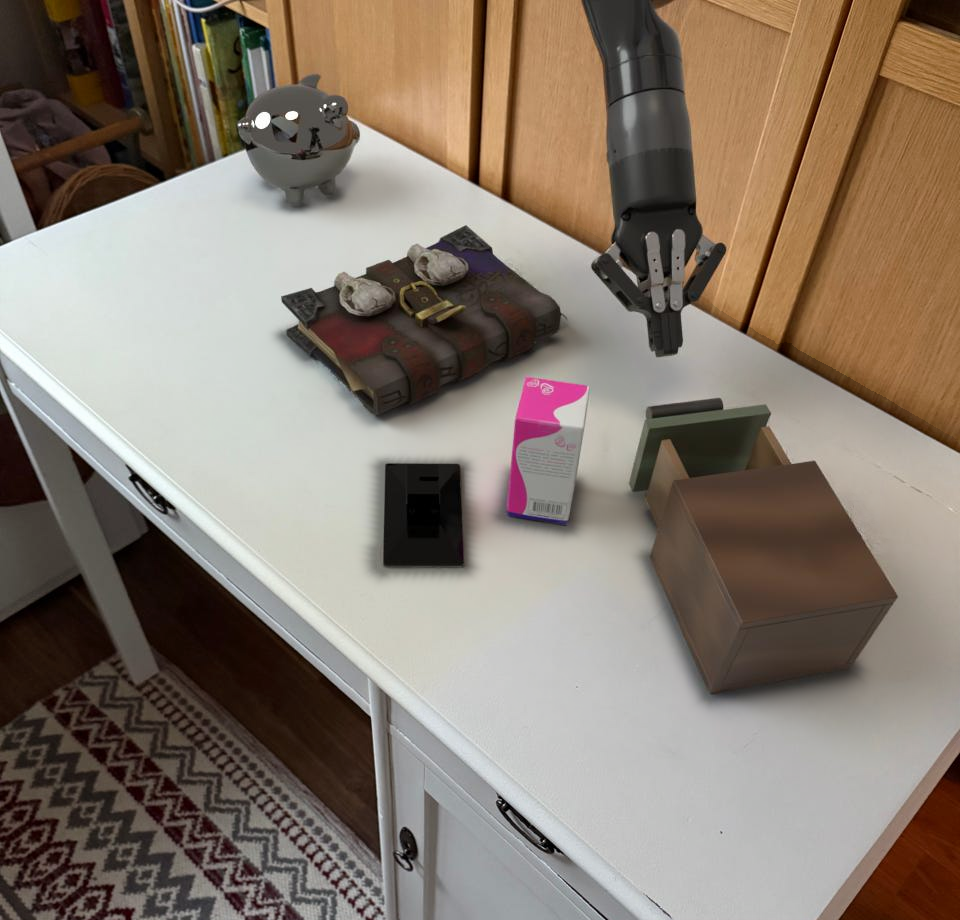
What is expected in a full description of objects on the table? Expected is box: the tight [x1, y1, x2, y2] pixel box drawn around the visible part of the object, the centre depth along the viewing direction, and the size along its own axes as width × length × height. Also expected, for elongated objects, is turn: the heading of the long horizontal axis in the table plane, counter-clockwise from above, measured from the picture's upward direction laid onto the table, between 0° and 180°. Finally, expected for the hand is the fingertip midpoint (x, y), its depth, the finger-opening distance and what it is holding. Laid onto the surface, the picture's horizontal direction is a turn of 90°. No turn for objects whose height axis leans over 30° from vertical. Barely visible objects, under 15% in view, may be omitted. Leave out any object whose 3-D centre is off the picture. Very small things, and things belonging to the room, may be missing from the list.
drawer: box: [628, 397, 792, 528], centre depth 83 cm, size 18×11×8 cm, turn 13°
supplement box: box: [506, 376, 591, 526], centre depth 82 cm, size 6×6×12 cm
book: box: [280, 224, 568, 416], centre depth 97 cm, size 26×18×7 cm
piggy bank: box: [235, 73, 361, 207], centre depth 111 cm, size 11×15×12 cm
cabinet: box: [649, 460, 899, 694], centre depth 77 cm, size 15×13×10 cm
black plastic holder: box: [379, 462, 465, 568], centre depth 83 cm, size 12×7×5 cm, turn 3°
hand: (667, 355), depth 88 cm, fingers closed
